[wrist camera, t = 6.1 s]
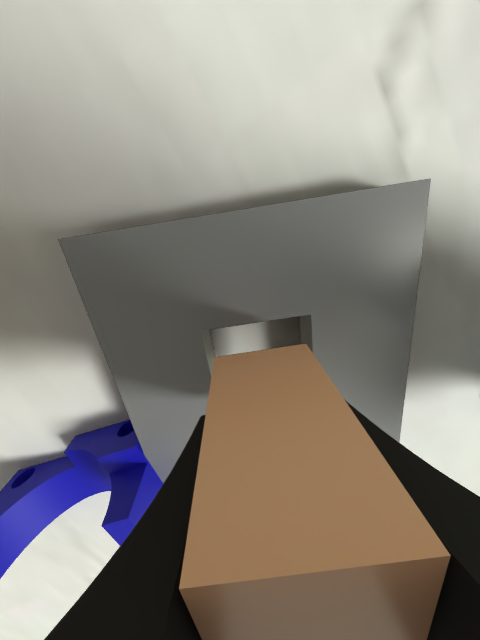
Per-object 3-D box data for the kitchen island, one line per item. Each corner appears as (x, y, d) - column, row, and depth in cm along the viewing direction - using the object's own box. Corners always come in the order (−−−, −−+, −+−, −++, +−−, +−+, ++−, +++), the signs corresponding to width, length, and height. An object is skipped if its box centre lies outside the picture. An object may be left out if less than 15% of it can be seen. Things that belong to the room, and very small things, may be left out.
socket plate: (391, 189, 12) (430, 178, 10) (375, 427, 17) (397, 457, 15) (91, 238, 12) (58, 239, 10) (167, 455, 18) (157, 488, 15)
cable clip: (151, 410, 17) (113, 500, 11) (177, 452, 18) (155, 549, 13) (6, 456, 18) (-97, 561, 12) (43, 493, 19) (-33, 600, 14)
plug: (306, 343, 10) (450, 555, 3) (310, 416, 11) (417, 668, 5) (214, 357, 10) (178, 589, 3) (229, 427, 11) (225, 690, 5)
